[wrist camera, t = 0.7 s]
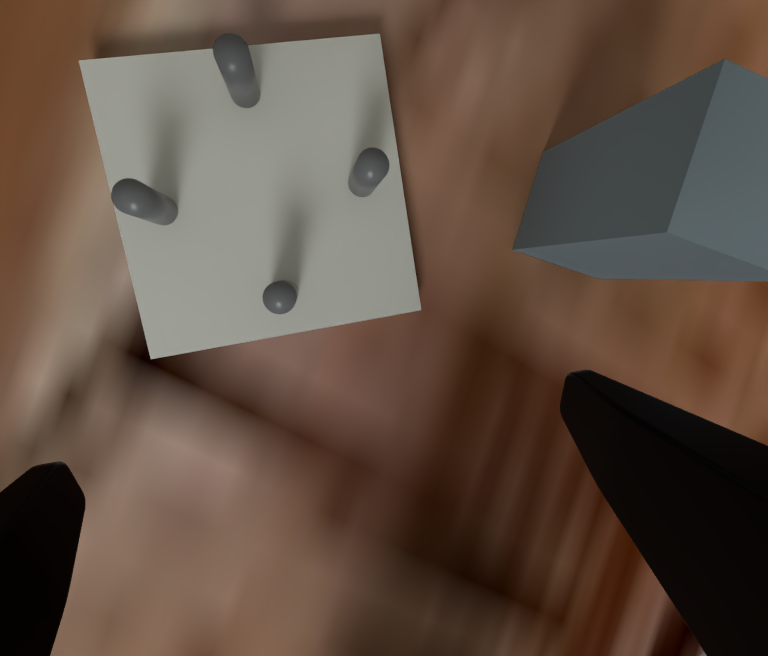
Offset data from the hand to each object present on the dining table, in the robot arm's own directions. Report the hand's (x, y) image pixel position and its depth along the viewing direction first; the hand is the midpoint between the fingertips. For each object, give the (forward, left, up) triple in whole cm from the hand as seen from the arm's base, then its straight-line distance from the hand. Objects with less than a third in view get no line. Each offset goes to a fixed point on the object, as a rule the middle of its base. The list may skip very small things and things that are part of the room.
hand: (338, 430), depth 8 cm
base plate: (+6, -2, -14) cm, 15 cm away
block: (-3, -14, -14) cm, 20 cm away
